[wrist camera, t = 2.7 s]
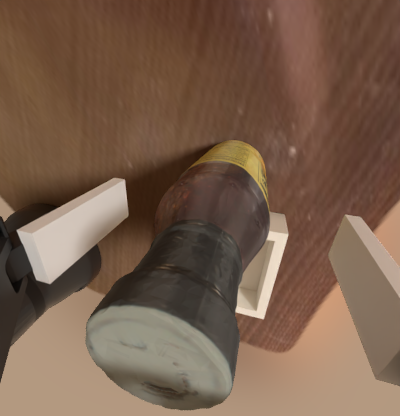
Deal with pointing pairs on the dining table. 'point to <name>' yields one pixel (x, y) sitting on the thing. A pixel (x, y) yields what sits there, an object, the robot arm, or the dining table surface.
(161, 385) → the sauce bottle
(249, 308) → the square white tray
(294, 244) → the dining table surface
